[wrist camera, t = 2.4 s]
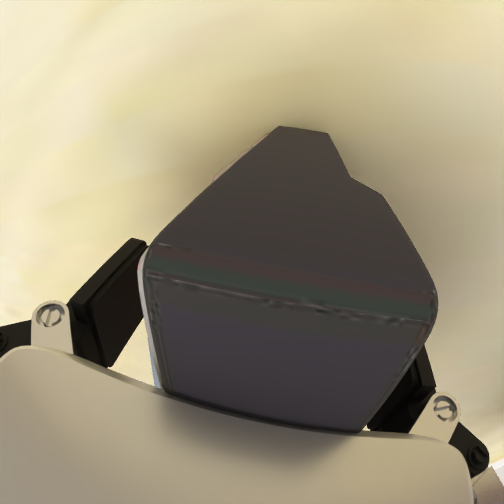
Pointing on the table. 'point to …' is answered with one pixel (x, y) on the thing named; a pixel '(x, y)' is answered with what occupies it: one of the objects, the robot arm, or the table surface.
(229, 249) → the multicoloured piece
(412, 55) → the table surface
